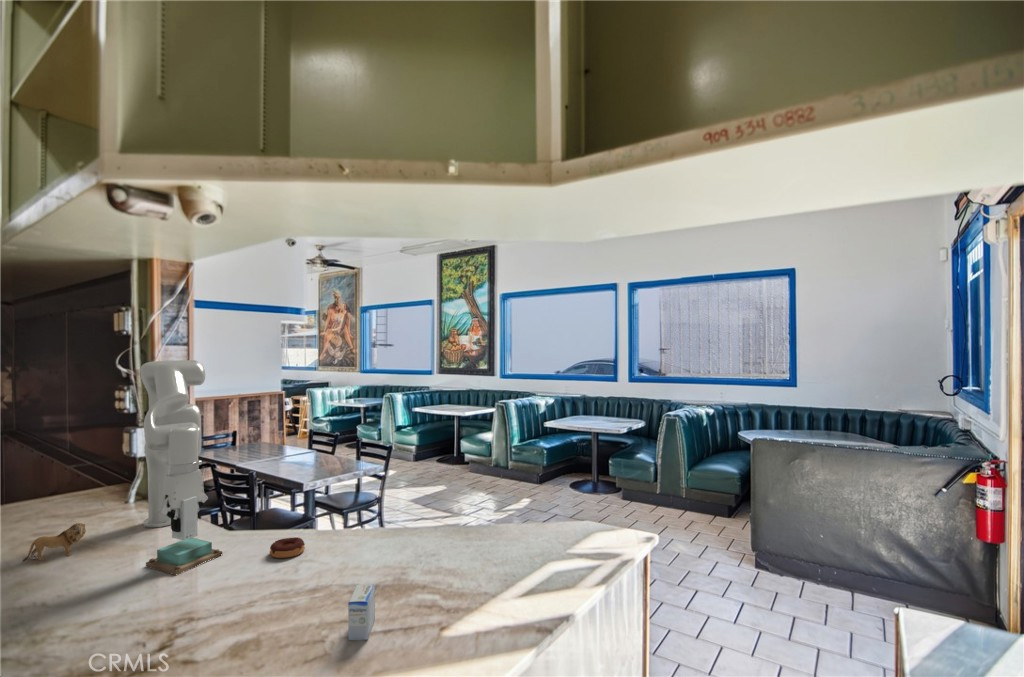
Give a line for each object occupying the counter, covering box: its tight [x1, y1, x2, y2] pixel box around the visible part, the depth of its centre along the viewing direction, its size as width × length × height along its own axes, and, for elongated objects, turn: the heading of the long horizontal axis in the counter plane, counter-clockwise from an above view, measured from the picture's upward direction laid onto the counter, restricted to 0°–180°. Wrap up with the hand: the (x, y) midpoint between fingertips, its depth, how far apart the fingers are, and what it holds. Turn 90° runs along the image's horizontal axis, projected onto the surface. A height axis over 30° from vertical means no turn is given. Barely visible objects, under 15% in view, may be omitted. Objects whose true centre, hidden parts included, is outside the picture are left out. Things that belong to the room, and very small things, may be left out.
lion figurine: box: [21, 522, 86, 562], centre depth 154 cm, size 15×5×9 cm, turn 130°
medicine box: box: [347, 583, 376, 641], centre depth 113 cm, size 8×4×9 cm, turn 5°
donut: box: [269, 536, 306, 559], centre depth 155 cm, size 10×10×4 cm
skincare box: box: [171, 497, 199, 541], centre depth 150 cm, size 6×4×12 cm
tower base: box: [145, 537, 223, 576], centre depth 150 cm, size 14×14×4 cm
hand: (184, 527), depth 150 cm, fingers closed on skincare box, 4 cm apart
